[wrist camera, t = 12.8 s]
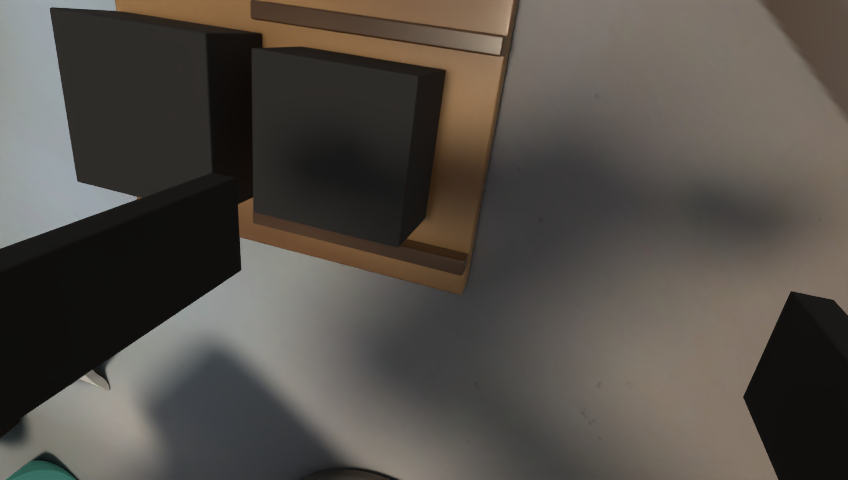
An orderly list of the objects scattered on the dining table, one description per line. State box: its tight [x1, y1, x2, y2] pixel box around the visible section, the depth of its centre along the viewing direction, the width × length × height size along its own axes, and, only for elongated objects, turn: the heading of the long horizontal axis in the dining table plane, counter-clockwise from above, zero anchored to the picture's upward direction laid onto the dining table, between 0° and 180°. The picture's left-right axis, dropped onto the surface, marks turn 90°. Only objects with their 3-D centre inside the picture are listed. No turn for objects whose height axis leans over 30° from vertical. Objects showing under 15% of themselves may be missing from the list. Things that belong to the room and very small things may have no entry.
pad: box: [50, 7, 262, 204], centre depth 24 cm, size 8×8×4 cm
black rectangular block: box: [252, 46, 446, 248], centre depth 22 cm, size 7×7×4 cm
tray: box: [115, 0, 519, 295], centre depth 25 cm, size 14×20×2 cm
